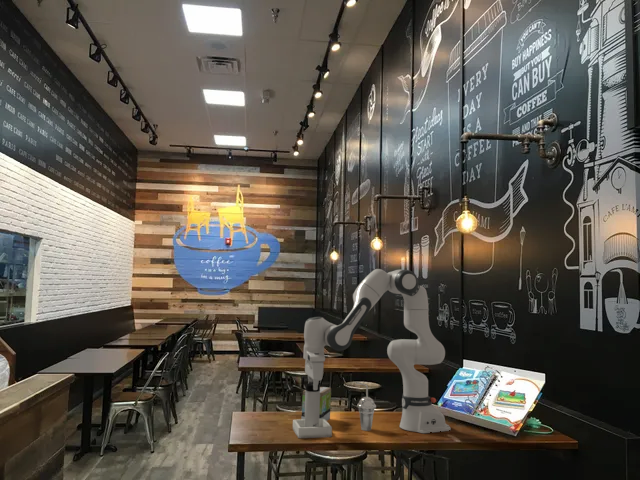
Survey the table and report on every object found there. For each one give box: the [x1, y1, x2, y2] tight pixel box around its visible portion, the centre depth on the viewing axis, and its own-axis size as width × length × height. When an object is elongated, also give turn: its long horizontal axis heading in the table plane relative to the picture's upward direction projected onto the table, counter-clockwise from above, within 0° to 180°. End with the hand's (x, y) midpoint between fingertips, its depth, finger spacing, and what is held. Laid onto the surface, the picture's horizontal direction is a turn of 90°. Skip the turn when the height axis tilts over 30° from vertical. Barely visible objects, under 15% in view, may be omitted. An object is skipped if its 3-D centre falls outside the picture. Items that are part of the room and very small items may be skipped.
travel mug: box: [304, 381, 322, 427], centre depth 216 cm, size 6×7×20 cm
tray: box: [292, 418, 333, 439], centre depth 215 cm, size 14×14×4 cm
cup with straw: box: [355, 381, 377, 431], centre depth 224 cm, size 8×9×20 cm
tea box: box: [300, 386, 332, 422], centre depth 236 cm, size 15×10×15 cm, turn 164°
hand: (312, 387), depth 217 cm, fingers open, 8 cm apart
